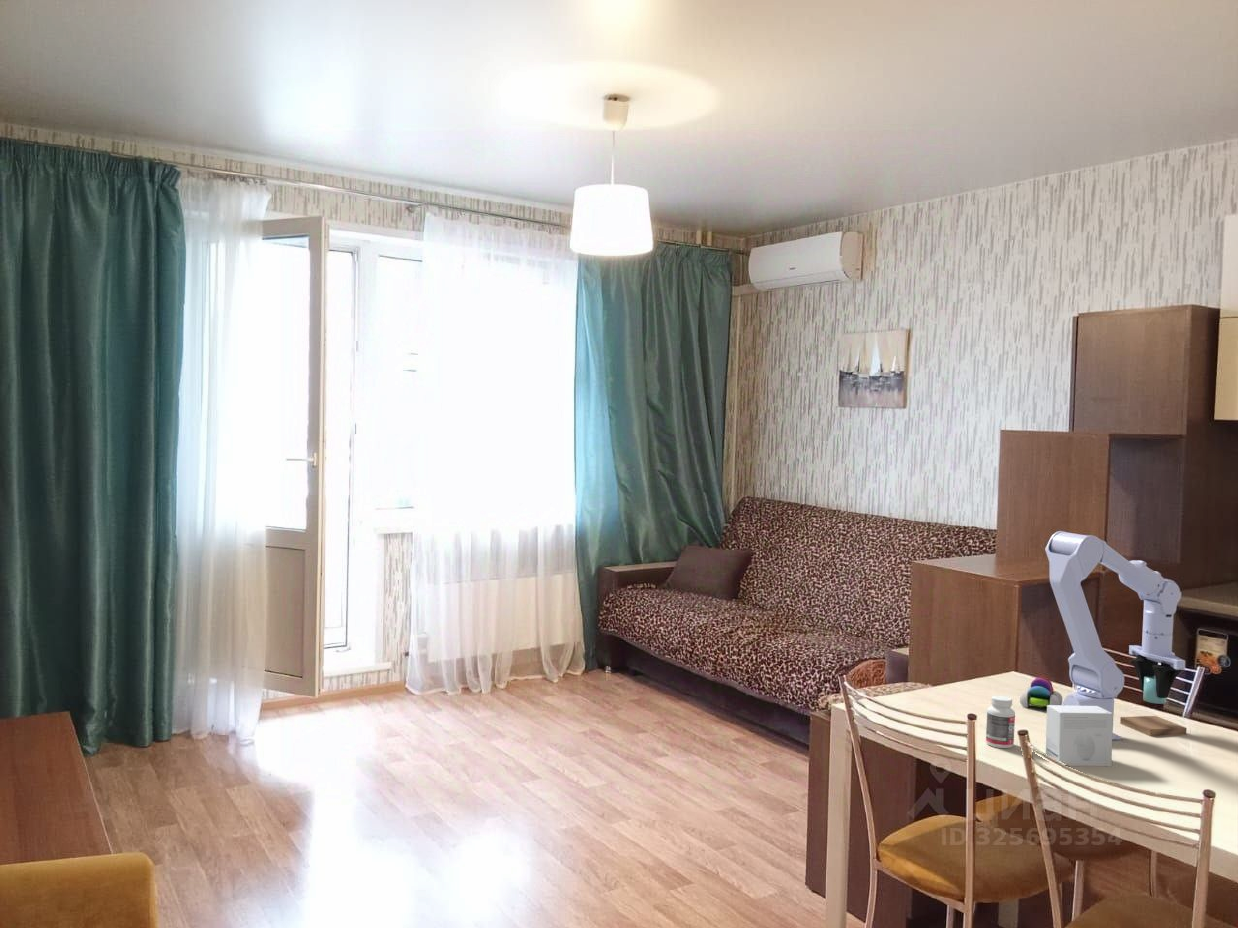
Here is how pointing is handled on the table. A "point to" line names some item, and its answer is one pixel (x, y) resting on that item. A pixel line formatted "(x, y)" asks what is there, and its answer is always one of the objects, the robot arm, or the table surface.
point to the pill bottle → (1000, 723)
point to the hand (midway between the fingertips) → (1154, 694)
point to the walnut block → (1153, 725)
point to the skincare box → (1079, 735)
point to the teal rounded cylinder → (1151, 691)
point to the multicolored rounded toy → (1040, 694)
